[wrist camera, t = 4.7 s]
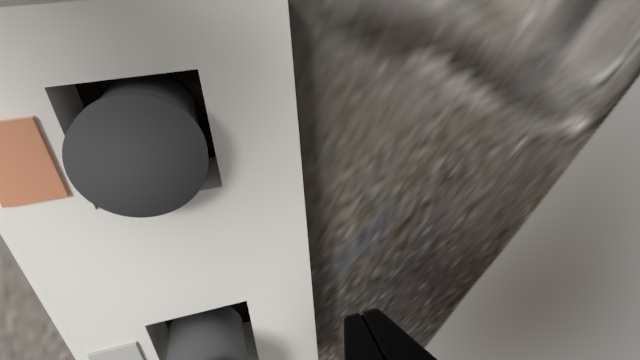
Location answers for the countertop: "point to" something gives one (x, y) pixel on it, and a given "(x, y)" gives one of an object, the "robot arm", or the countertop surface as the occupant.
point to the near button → (137, 148)
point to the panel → (177, 226)
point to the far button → (207, 336)
